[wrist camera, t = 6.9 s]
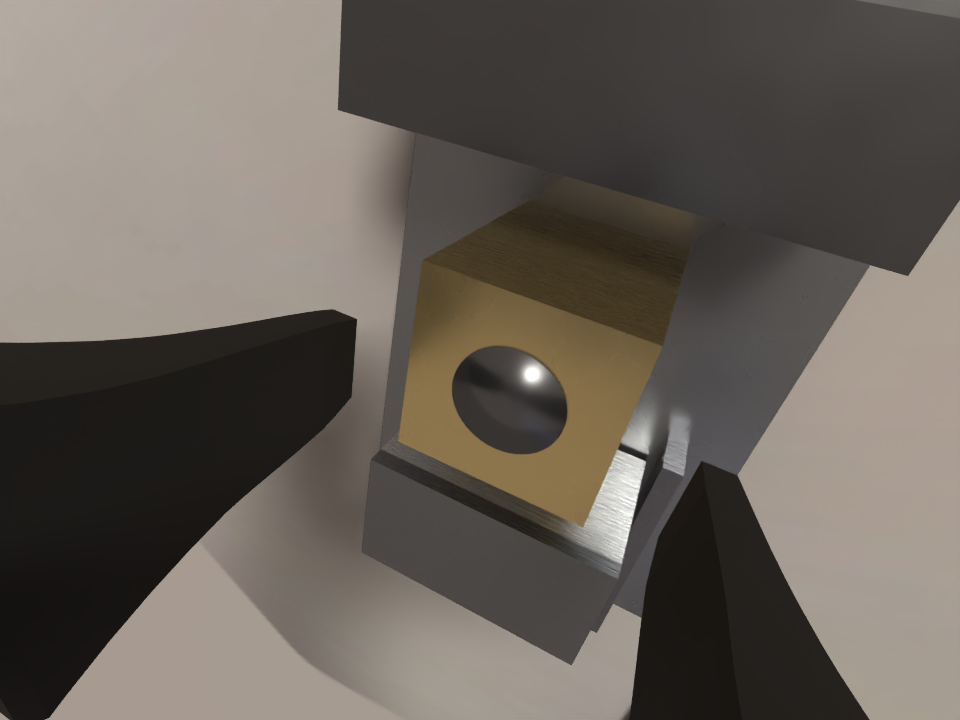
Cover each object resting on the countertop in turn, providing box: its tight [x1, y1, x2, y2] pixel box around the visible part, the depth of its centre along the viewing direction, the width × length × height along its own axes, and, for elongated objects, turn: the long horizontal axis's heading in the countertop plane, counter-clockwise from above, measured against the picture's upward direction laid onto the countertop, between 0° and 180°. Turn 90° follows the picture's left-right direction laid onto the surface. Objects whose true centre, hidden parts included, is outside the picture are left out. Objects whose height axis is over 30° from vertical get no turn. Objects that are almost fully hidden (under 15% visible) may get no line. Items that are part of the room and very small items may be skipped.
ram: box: [362, 430, 646, 665], centre depth 16 cm, size 4×7×5 cm, turn 78°
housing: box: [398, 201, 690, 527], centre depth 13 cm, size 4×4×6 cm
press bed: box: [338, 0, 960, 633], centre depth 14 cm, size 20×12×6 cm, turn 169°
